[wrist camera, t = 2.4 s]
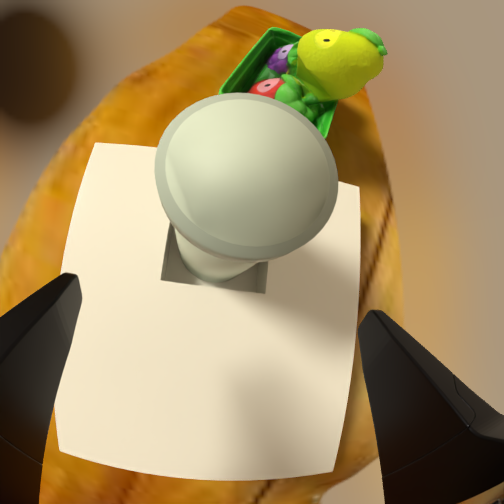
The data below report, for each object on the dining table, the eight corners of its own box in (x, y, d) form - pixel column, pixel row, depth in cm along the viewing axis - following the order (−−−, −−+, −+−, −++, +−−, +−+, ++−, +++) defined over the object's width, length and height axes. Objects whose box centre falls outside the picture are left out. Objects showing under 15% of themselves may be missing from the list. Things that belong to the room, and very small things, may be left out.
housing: (313, 451, 18) (332, 471, 14) (76, 431, 14) (59, 450, 11) (336, 203, 22) (359, 187, 19) (107, 166, 19) (95, 142, 15)
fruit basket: (258, 60, 24) (291, -29, 13) (338, 98, 25) (396, 21, 14) (207, 138, 21) (228, 20, 10) (310, 185, 22) (395, 99, 11)
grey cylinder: (209, 305, 18) (239, 302, 7) (157, 237, 18) (119, 146, 7) (273, 252, 19) (368, 188, 8) (222, 190, 19) (260, 73, 9)
